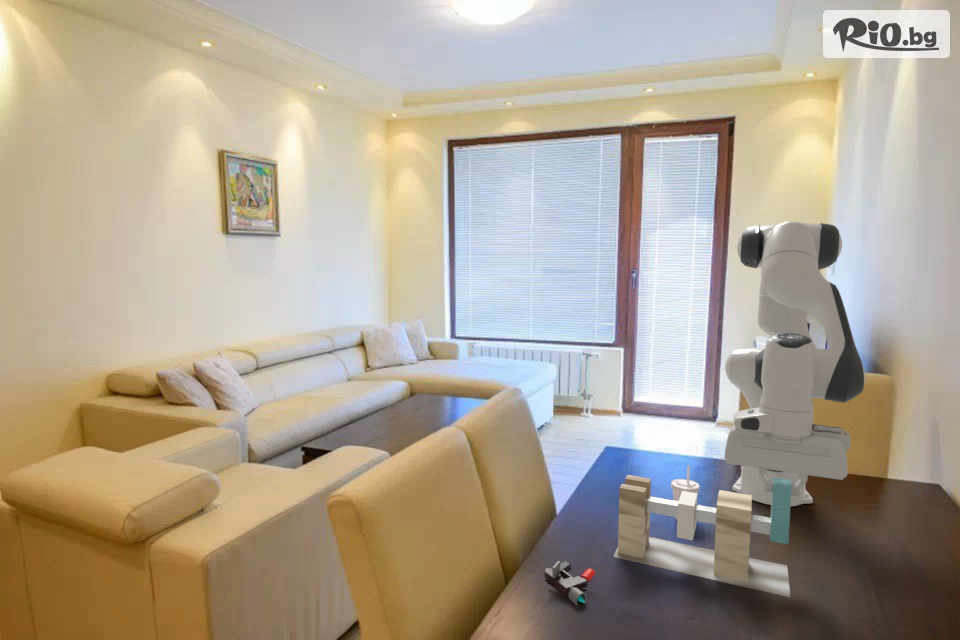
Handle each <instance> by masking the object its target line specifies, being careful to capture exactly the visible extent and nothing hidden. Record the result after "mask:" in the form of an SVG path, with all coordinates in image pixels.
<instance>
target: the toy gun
mask: <svg viewBox="0 0 960 640" xmlns="http://www.w3.org/2000/svg"><path fill="white" fill-rule="evenodd" d="M571 568H572V565H571V563H569V562H568V561H567V560H563V561H562V562H561V561H560V560H558V561H556V562H555V564H553V566H552V567H546V568H545V570H544V575H545V576H546V577H547V578H548V579H547V578H546V579H544V581H545V583H547V584H548V585H550V586H551V588H553V589H554V590H556V591H557V592H558V593H559V594H561V596H563V597H564V598H565V599H569V600H570V601H571V602H572V603H573V604H575V605H576V606H577V607H579V606H580V605H579V604H578V602H579V603H582V604H586V602H587V600H588V598H587V594H586V593H584V592H586V591H588V590H587V589H584V588H582V587H584V586H586V585H588V582H590V581H591V580H592V579H593V577H595V575H596V572H595V570H594V569H592V568H587V569H586V570H585V571H584V572H583V573H582V574H580V576H578V575H577V576H574V577H573V575H571V574H570V573H569V572H567V571H569V570H570V569H571ZM561 575H562V576H564V577H565V578H563V577H562V576H561Z"/></svg>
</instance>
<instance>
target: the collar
mask: <svg viewBox="0 0 960 640" xmlns="http://www.w3.org/2000/svg"><path fill="white" fill-rule="evenodd" d="M696 505H698V494H697V493H692V492H686V491H682V493H681V496H680V499H679V502H678V514H677V519H676V521H677V522H676V538H678V539H682V540H683V539H684V540H688V541H693V540H694V536H695V531H696V528H697V521H694V511H695V507H696Z"/></svg>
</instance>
